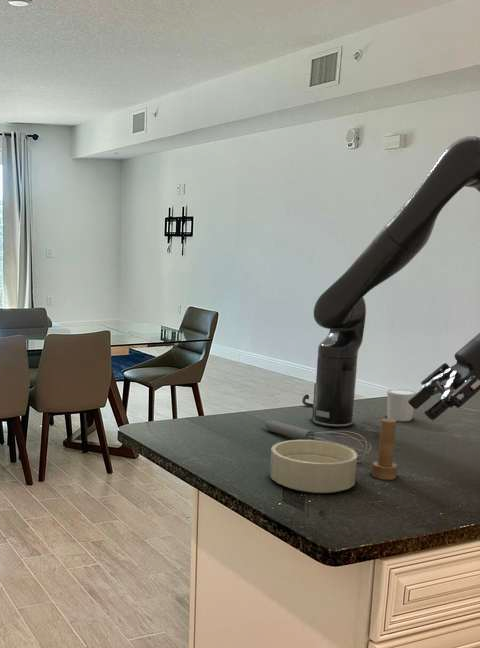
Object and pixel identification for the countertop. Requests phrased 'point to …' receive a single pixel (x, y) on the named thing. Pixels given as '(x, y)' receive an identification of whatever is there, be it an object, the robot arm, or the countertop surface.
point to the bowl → (313, 466)
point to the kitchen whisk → (305, 433)
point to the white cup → (399, 405)
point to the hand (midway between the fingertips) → (419, 411)
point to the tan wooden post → (386, 452)
